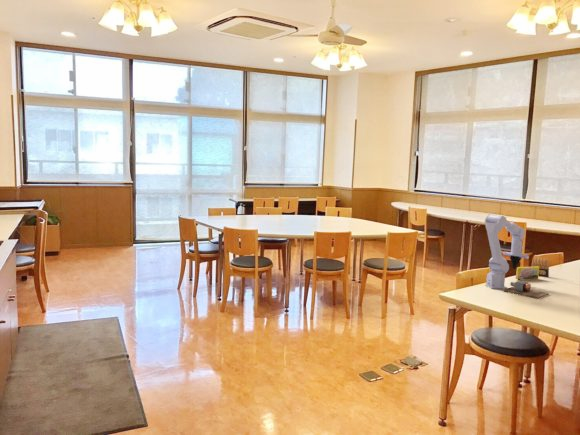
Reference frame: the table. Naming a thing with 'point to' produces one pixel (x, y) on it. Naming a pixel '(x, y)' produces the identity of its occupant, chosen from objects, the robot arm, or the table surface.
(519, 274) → the candy box
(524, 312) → the table surface
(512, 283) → the shaft
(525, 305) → the table surface
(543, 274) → the ammunition clip
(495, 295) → the table surface
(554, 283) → the table surface
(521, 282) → the bearing housing
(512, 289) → the base plate
